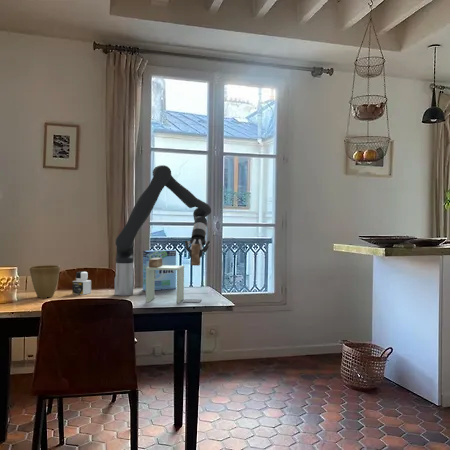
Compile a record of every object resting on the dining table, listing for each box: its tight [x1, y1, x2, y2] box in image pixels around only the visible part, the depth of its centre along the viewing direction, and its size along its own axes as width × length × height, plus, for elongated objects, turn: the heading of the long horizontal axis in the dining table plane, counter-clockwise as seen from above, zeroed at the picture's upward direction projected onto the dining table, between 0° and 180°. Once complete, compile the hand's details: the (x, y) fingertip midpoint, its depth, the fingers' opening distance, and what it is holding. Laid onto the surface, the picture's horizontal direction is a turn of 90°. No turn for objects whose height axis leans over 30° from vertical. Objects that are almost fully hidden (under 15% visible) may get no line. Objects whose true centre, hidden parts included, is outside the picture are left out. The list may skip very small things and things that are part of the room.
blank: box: [190, 244, 201, 267], centre depth 239 cm, size 4×4×11 cm
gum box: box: [142, 249, 177, 292], centre depth 269 cm, size 20×5×23 cm, turn 123°
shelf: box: [145, 265, 185, 304], centre depth 231 cm, size 17×13×17 cm
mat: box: [182, 298, 202, 304], centre depth 228 cm, size 8×8×1 cm
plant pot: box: [29, 264, 61, 299], centre depth 238 cm, size 15×15×16 cm
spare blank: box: [149, 258, 162, 268], centre depth 231 cm, size 4×11×4 cm, turn 174°
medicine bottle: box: [71, 271, 92, 296], centre depth 251 cm, size 7×7×12 cm
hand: (195, 256), depth 237 cm, fingers closed on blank, 4 cm apart
